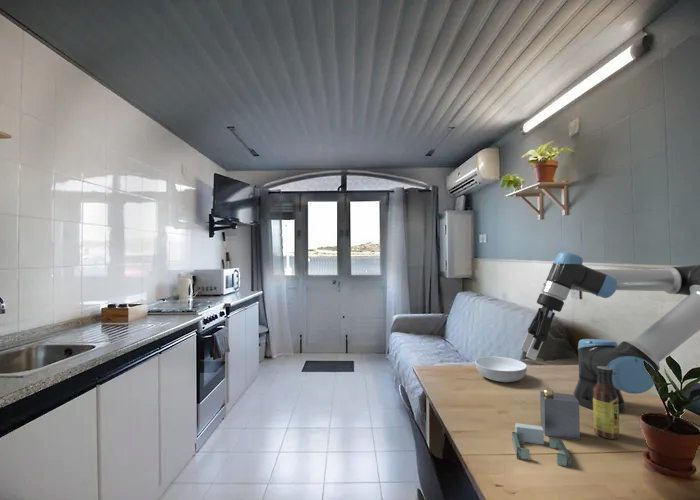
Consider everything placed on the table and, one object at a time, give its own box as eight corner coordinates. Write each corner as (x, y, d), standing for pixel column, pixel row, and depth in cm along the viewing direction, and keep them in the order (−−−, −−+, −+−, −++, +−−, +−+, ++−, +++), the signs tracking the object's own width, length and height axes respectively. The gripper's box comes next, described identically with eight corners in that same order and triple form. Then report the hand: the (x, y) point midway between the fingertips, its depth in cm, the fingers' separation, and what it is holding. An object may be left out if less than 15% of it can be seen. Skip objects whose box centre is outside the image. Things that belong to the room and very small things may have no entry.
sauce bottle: (620, 442, 100) (619, 372, 100) (594, 436, 103) (592, 369, 104) (617, 432, 106) (616, 366, 106) (592, 427, 109) (591, 363, 109)
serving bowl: (471, 370, 165) (470, 355, 165) (517, 371, 162) (517, 357, 162) (481, 386, 144) (481, 369, 144) (535, 388, 141) (534, 371, 141)
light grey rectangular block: (541, 440, 101) (541, 426, 102) (543, 444, 99) (543, 430, 99) (515, 436, 104) (515, 423, 104) (516, 440, 101) (516, 426, 101)
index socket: (561, 447, 98) (560, 438, 98) (571, 467, 88) (571, 457, 89) (512, 440, 101) (512, 431, 101) (517, 458, 92) (517, 449, 92)
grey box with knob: (573, 430, 107) (572, 389, 107) (579, 440, 101) (579, 396, 102) (540, 426, 110) (540, 386, 110) (545, 435, 104) (544, 393, 104)
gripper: (534, 291, 130) (512, 344, 130) (548, 292, 106) (520, 356, 107) (556, 300, 127) (532, 353, 128) (574, 302, 104) (546, 367, 104)
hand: (527, 354), depth 117 cm, fingers open, 13 cm apart
